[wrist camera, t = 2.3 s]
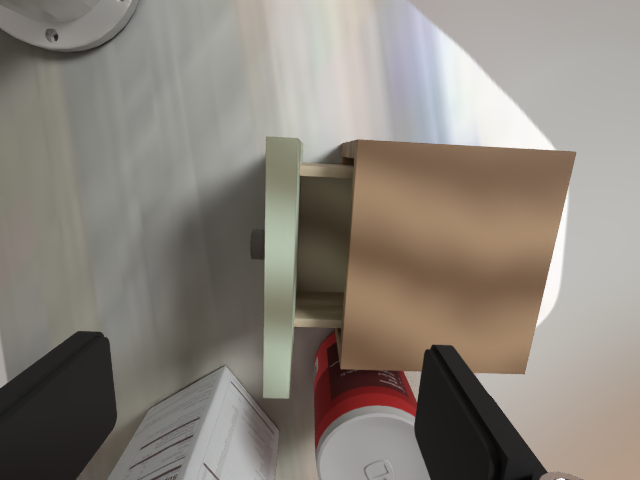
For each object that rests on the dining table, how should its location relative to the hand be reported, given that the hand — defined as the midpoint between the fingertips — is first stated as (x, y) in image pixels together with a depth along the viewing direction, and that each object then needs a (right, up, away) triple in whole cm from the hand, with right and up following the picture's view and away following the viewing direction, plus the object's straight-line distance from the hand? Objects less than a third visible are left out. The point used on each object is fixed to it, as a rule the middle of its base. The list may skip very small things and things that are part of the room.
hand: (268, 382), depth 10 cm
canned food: (+5, -7, +22) cm, 24 cm away
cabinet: (+9, +5, +19) cm, 21 cm away
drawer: (+4, +5, +18) cm, 19 cm away
